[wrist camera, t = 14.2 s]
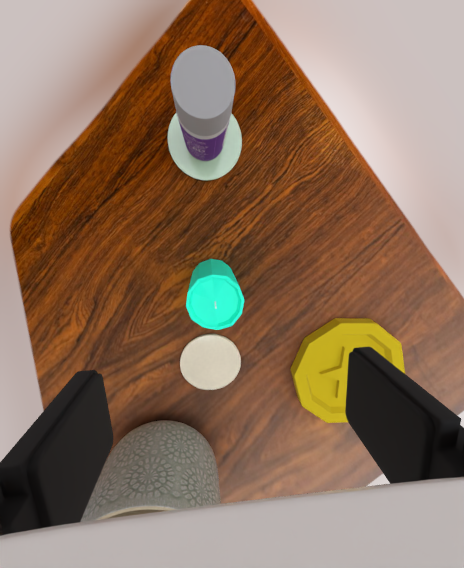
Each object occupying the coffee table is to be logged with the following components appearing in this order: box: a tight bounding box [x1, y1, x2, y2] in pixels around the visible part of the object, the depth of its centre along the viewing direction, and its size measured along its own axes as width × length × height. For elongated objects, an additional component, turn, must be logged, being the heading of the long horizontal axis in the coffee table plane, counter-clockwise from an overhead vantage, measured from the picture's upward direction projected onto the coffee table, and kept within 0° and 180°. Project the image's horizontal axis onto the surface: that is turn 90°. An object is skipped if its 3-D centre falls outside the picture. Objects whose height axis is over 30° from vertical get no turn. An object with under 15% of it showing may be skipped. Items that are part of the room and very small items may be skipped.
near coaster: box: [168, 112, 242, 181], centre depth 34 cm, size 9×9×1 cm
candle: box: [186, 259, 244, 330], centre depth 32 cm, size 6×6×12 cm
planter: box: [80, 420, 221, 522], centre depth 37 cm, size 17×17×15 cm
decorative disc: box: [290, 318, 405, 423], centre depth 42 cm, size 17×18×2 cm
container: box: [171, 45, 235, 161], centre depth 26 cm, size 5×5×15 cm
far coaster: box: [180, 334, 241, 390], centre depth 41 cm, size 9×9×1 cm
